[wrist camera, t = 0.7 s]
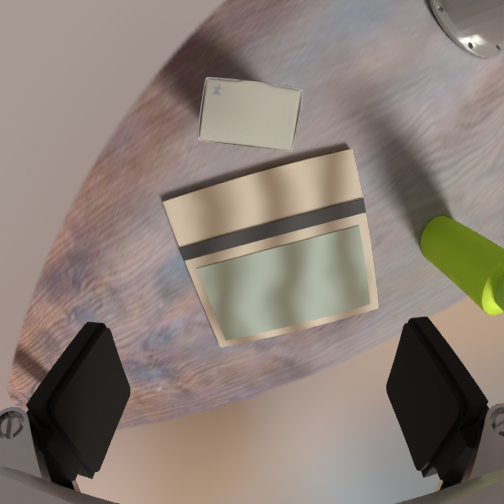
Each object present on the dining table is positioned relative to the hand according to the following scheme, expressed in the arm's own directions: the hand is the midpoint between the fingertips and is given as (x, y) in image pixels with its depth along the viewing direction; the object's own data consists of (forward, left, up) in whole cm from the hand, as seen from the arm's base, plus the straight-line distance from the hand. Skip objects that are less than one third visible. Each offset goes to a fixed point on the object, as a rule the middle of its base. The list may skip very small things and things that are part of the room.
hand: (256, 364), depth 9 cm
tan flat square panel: (-1, +7, -24) cm, 25 cm away
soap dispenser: (-21, +10, -24) cm, 34 cm away
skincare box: (-2, -8, -24) cm, 26 cm away
